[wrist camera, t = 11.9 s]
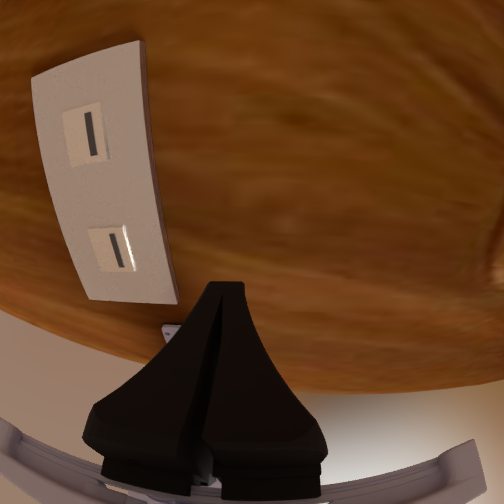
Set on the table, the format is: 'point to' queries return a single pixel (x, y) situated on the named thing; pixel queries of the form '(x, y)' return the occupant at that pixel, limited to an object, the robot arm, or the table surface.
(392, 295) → the table surface
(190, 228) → the table surface
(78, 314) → the table surface
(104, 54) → the white slotted plate
